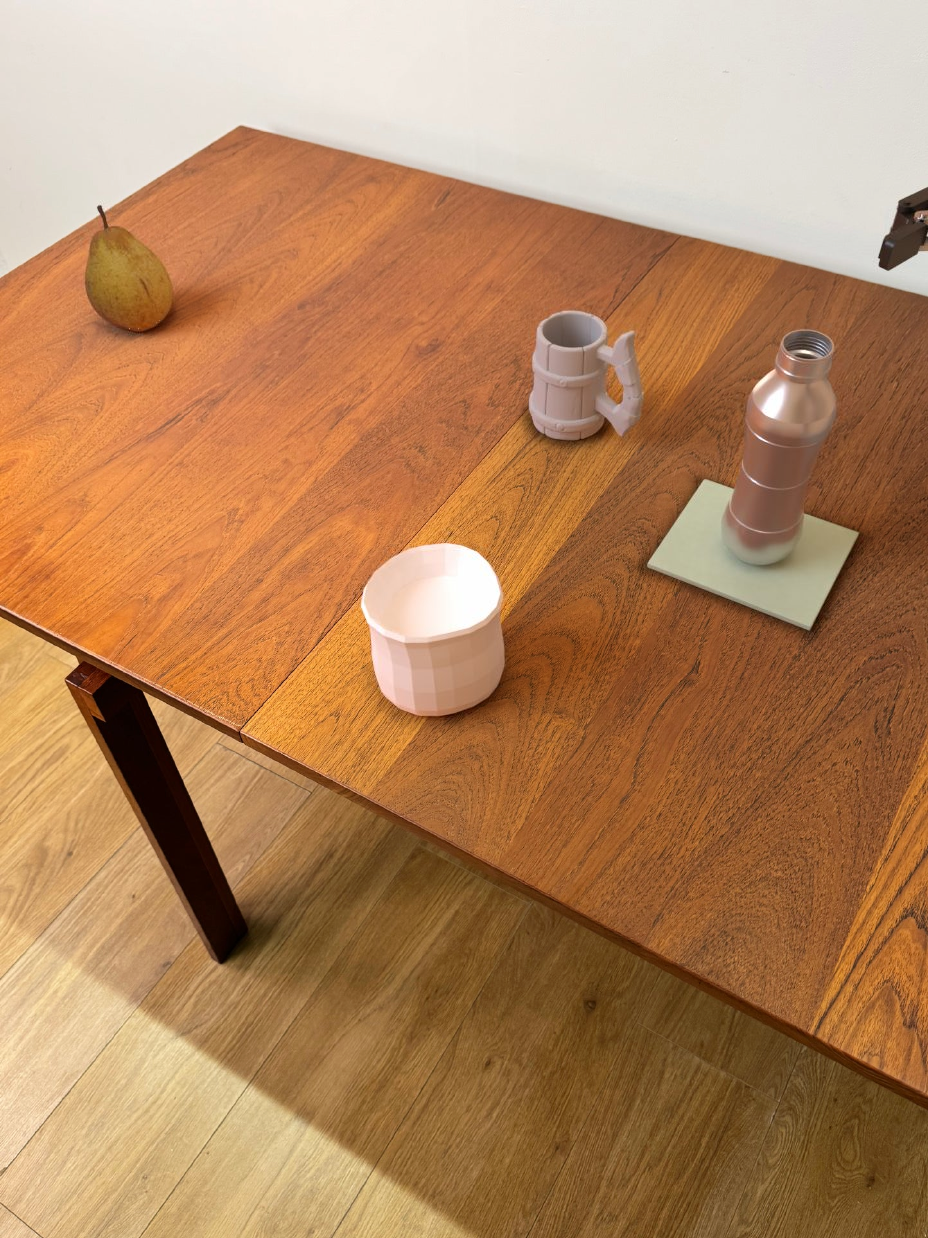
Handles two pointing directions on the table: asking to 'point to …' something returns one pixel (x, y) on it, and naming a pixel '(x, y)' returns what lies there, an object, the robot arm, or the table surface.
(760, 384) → the metal bottle
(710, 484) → the mat
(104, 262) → the fruit
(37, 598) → the table surface
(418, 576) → the cup
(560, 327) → the mug
